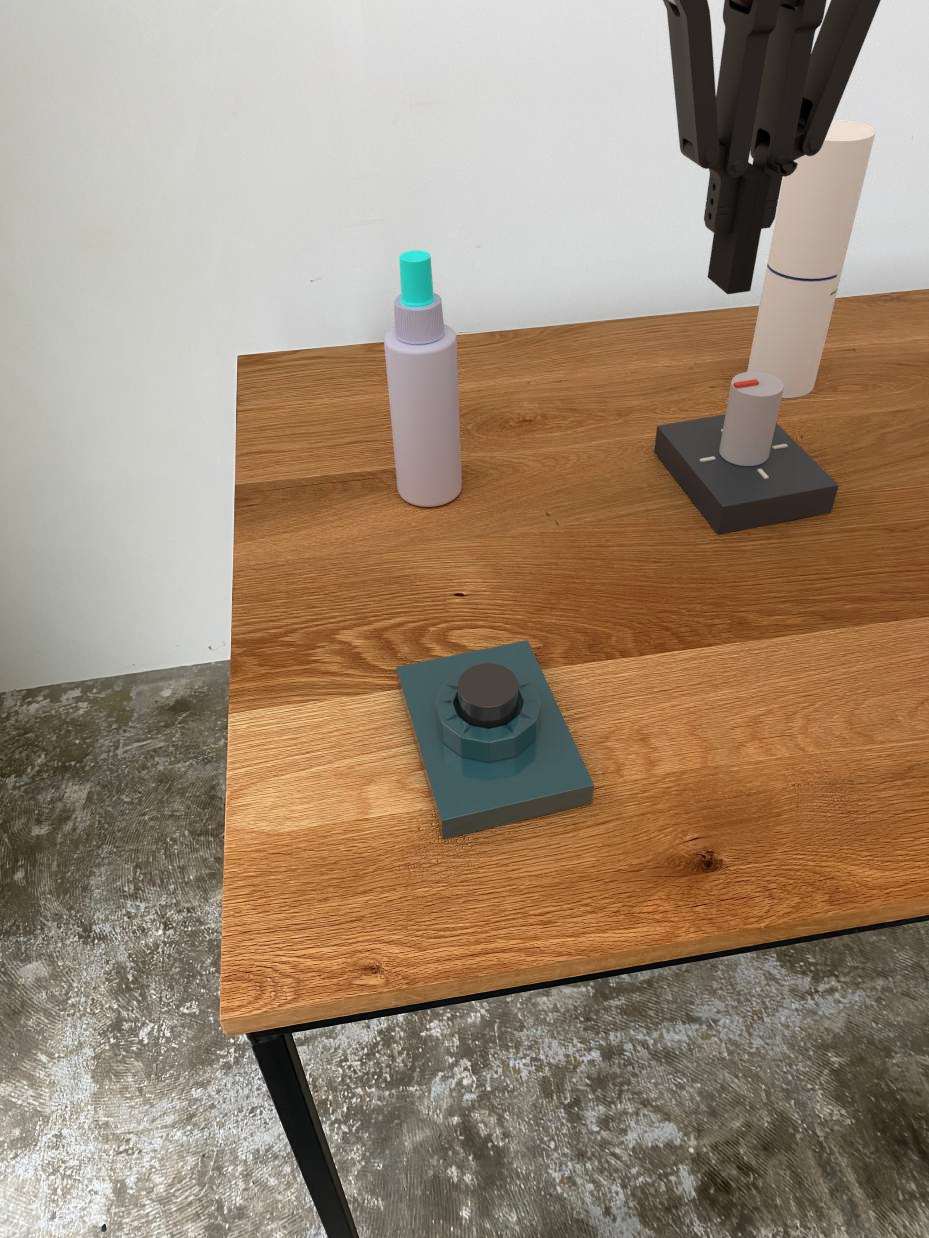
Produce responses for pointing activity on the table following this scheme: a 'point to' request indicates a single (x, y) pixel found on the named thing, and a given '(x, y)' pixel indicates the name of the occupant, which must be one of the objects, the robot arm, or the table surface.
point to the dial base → (743, 477)
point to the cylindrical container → (809, 256)
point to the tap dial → (750, 418)
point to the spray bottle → (423, 389)
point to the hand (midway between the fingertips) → (728, 283)
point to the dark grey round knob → (488, 695)
